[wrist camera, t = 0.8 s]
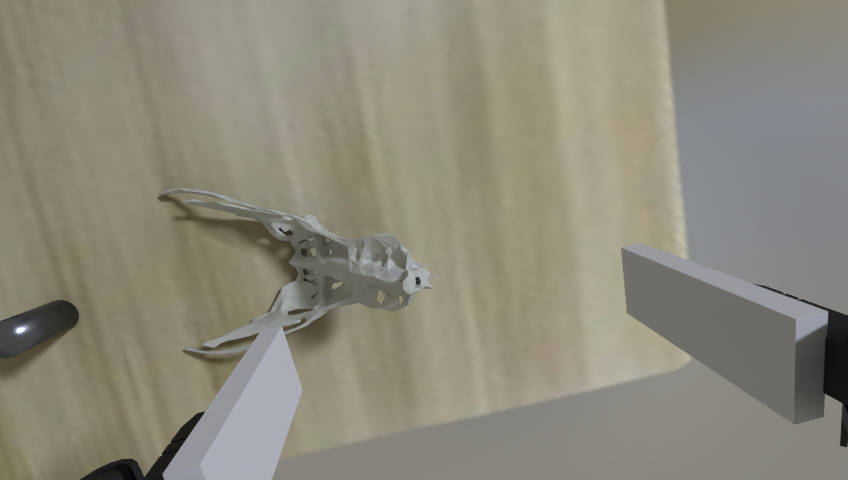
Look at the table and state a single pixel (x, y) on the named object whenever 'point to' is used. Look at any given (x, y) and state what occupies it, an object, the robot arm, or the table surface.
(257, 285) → the table surface
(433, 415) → the table surface
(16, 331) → the posts
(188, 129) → the table surface
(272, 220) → the skeletal model
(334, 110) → the table surface
